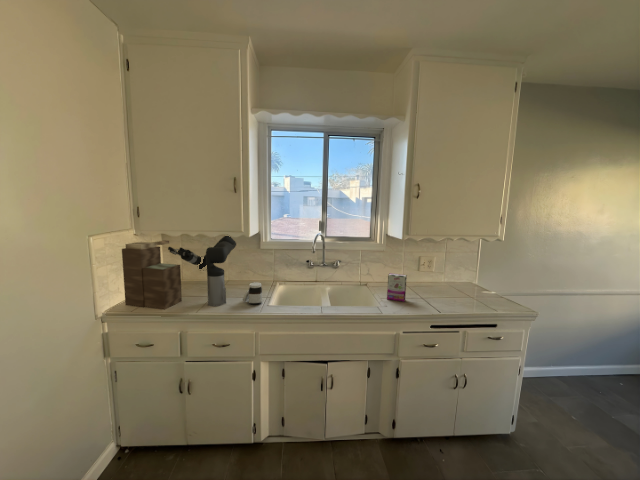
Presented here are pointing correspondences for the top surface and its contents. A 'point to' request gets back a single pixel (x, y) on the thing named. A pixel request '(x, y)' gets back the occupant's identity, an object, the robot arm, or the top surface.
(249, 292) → the spread jar
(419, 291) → the top surface
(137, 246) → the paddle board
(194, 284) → the top surface
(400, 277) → the candy bar box
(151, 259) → the two-tone wooden block
